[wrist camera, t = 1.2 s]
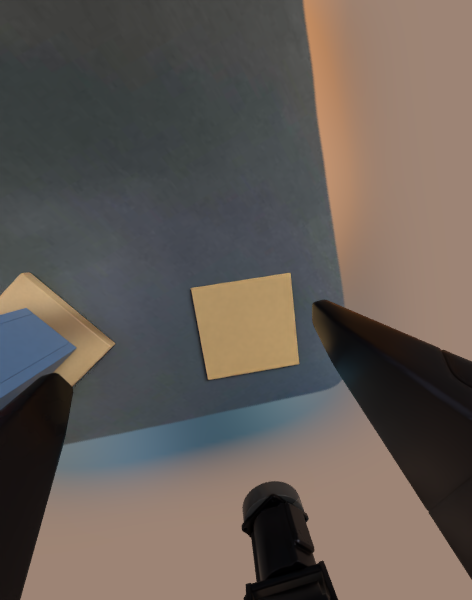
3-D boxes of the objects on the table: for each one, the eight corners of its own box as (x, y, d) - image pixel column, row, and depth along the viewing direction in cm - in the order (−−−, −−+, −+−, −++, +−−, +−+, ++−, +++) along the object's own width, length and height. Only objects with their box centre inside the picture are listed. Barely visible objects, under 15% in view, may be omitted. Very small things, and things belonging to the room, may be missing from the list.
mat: (298, 362, 25) (299, 364, 25) (208, 378, 24) (208, 380, 24) (289, 272, 23) (290, 273, 23) (191, 288, 22) (190, 288, 22)
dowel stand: (115, 343, 23) (80, 373, 17) (50, 408, 24) (-5, 458, 18) (30, 272, 21) (-43, 278, 15) (-38, 345, 22) (-133, 378, 16)
